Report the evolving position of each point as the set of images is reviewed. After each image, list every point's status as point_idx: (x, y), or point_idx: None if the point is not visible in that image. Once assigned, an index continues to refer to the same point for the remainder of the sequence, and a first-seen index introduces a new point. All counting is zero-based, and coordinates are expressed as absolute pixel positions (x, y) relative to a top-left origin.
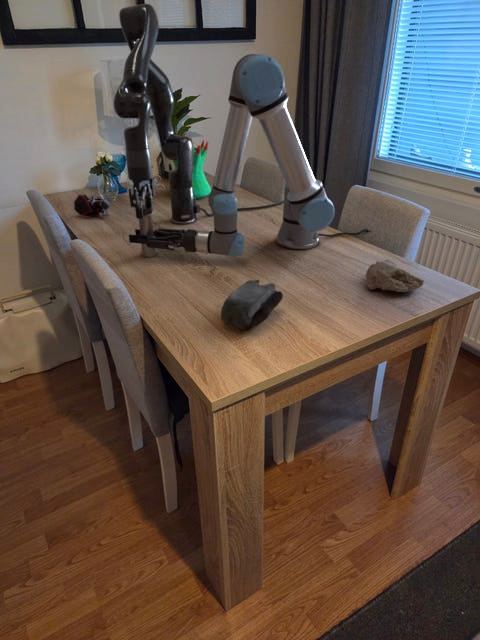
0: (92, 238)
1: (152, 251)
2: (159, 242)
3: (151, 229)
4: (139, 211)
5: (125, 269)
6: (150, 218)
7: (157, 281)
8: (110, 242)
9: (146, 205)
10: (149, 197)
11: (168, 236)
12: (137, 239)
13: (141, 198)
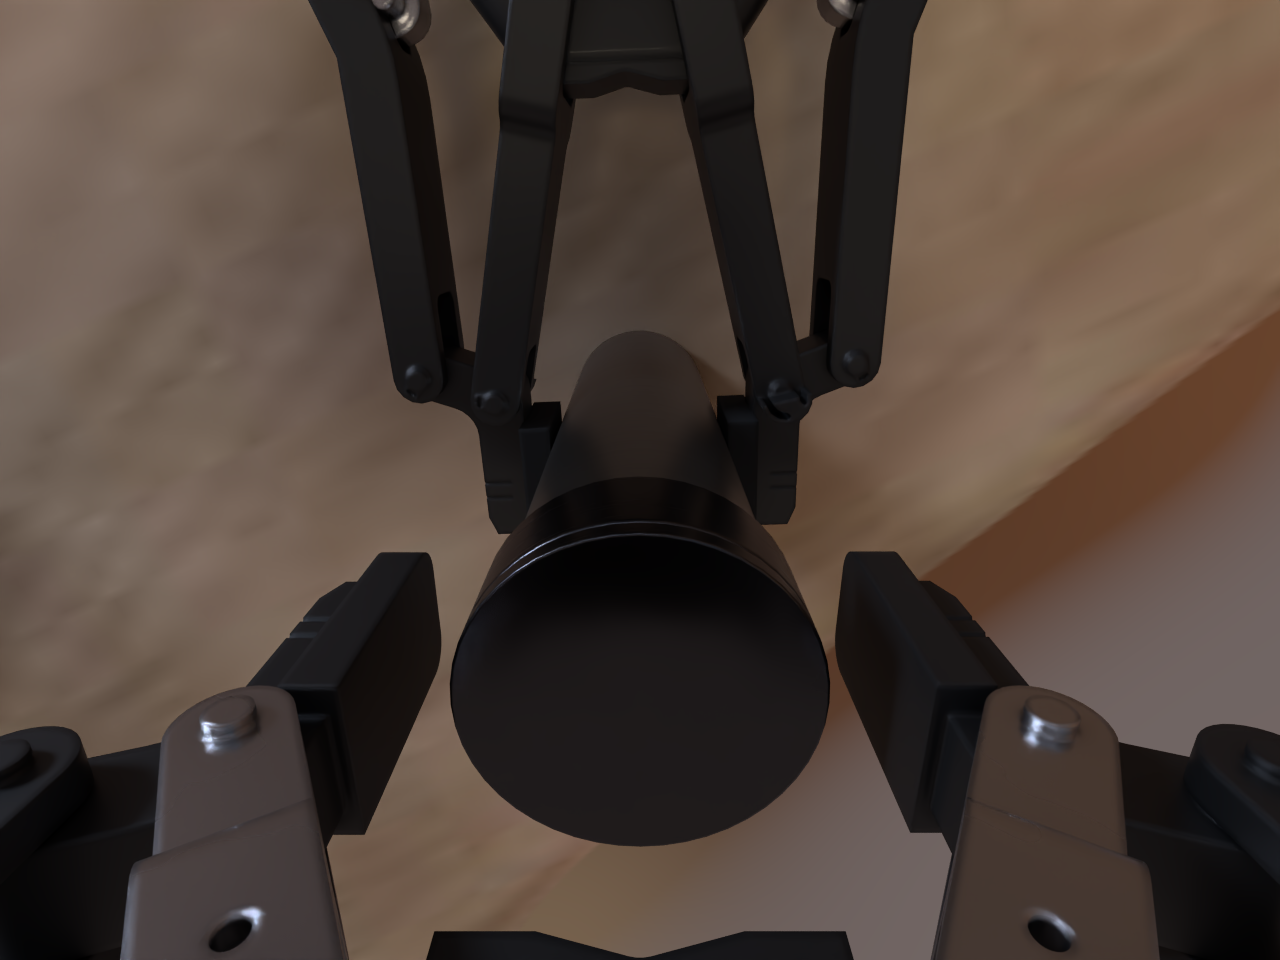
0: (464, 925)
1: (678, 350)
2: (897, 168)
3: (672, 403)
4: (1004, 668)
5: (990, 461)
6: (680, 458)
7: (1249, 39)
8: (489, 793)
9: (527, 695)
10: (312, 796)
11: (724, 82)
12: (789, 515)
13: (1136, 924)
